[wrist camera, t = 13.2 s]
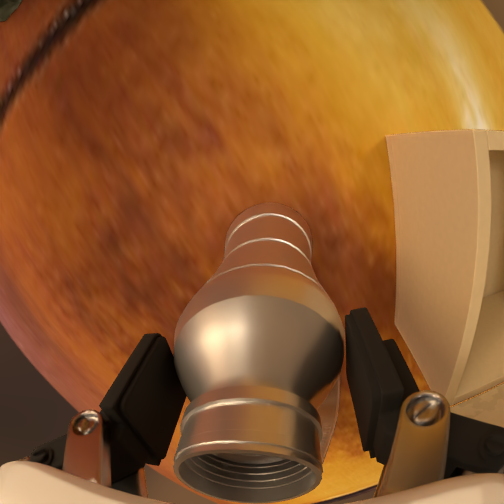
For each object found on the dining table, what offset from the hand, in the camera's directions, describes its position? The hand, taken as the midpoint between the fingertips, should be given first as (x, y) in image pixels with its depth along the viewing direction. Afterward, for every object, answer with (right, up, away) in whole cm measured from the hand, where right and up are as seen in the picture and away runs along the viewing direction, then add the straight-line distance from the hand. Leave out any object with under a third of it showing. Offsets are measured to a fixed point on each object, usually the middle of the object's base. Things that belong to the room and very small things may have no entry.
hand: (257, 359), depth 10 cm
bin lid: (+19, -4, -6) cm, 21 cm away
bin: (+20, +6, +12) cm, 24 cm away
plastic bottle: (+1, +5, +14) cm, 15 cm away
